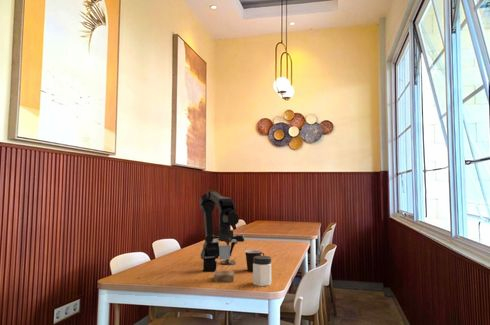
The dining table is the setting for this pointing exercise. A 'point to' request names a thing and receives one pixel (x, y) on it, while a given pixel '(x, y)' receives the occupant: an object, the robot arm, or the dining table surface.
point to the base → (224, 276)
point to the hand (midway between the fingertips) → (224, 256)
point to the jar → (262, 270)
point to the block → (224, 252)
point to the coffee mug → (251, 258)
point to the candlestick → (227, 261)
